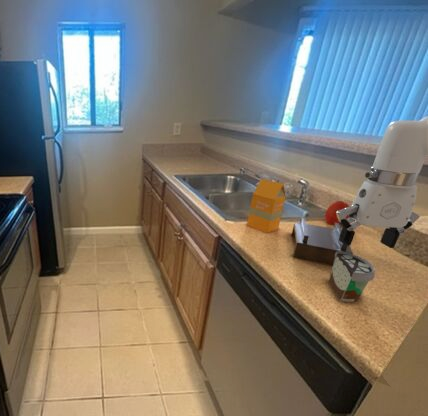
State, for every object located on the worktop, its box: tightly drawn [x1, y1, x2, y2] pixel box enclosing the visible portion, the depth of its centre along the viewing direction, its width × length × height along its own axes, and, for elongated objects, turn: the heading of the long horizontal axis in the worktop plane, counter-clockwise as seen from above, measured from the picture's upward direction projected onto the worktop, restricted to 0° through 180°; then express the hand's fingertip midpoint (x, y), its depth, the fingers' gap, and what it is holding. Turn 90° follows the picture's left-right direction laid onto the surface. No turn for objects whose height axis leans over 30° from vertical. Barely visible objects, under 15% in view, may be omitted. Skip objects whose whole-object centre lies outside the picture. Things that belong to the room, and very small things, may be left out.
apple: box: [324, 200, 350, 227], centre depth 113 cm, size 8×8×11 cm
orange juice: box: [246, 178, 287, 234], centre depth 109 cm, size 8×9×20 cm
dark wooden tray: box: [291, 217, 354, 267], centre depth 94 cm, size 14×19×8 cm
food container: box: [328, 251, 376, 303], centre depth 72 cm, size 12×6×10 cm, turn 157°
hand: (365, 244), depth 68 cm, fingers open, 9 cm apart
